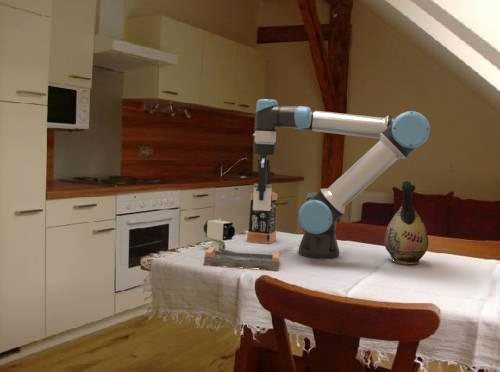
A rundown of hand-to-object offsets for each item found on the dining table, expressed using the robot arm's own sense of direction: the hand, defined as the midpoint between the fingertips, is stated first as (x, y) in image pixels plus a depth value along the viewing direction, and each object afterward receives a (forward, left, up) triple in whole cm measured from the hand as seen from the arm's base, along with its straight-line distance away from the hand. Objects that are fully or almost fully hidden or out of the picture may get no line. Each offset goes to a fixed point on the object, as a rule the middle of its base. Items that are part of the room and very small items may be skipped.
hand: (261, 208), depth 186 cm
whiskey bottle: (+1, -29, -17) cm, 34 cm away
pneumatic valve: (+15, -4, -17) cm, 23 cm away
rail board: (+4, +15, -17) cm, 23 cm away
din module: (0, 0, 0) cm, 0 cm away
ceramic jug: (-53, -7, -17) cm, 56 cm away
